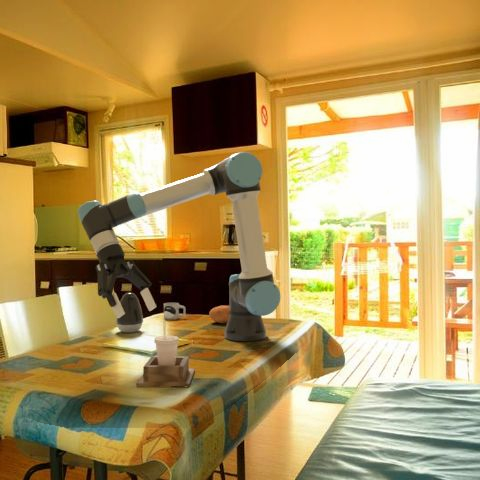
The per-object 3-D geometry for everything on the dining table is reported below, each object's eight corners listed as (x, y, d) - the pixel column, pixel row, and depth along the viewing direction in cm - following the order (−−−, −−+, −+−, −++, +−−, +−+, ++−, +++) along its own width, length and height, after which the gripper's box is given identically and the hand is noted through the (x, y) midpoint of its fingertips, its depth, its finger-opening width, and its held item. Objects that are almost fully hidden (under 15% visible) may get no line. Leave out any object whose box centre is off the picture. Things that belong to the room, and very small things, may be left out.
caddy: (194, 371, 129) (194, 355, 129) (188, 386, 116) (188, 368, 116) (147, 371, 129) (147, 355, 129) (136, 386, 116) (135, 368, 116)
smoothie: (155, 371, 125) (155, 319, 125) (179, 371, 126) (179, 318, 126) (153, 379, 119) (152, 323, 119) (178, 378, 119) (178, 323, 119)
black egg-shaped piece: (119, 335, 176) (119, 294, 176) (113, 330, 185) (113, 291, 185) (146, 332, 181) (146, 293, 180) (139, 328, 190) (138, 290, 190)
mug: (161, 319, 209) (161, 304, 209) (166, 317, 216) (166, 302, 216) (183, 320, 207) (183, 305, 207) (187, 317, 214) (187, 302, 214)
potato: (231, 325, 194) (231, 307, 194) (206, 324, 197) (206, 306, 197) (238, 321, 203) (238, 304, 203) (213, 320, 206) (213, 303, 206)
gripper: (128, 253, 153) (156, 311, 148) (67, 257, 131) (97, 325, 126) (143, 241, 150) (172, 300, 145) (83, 243, 128) (114, 312, 123)
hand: (137, 312), depth 135 cm, fingers open, 13 cm apart
